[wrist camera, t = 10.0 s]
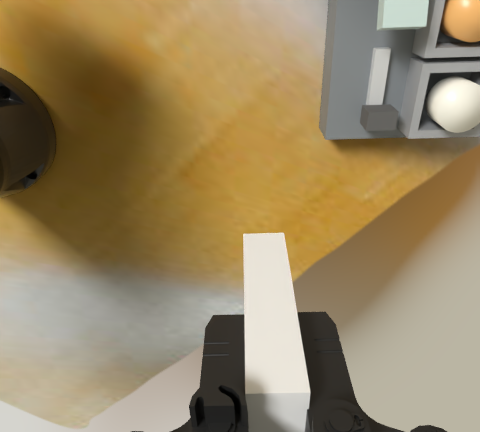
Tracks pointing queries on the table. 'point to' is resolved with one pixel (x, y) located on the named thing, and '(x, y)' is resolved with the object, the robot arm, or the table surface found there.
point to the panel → (388, 71)
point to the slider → (378, 117)
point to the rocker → (402, 14)
